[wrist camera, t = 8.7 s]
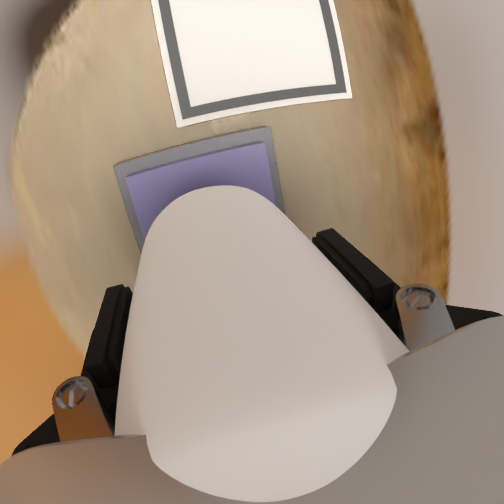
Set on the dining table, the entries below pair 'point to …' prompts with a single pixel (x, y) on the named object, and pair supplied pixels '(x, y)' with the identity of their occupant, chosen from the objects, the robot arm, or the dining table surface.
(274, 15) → the marked card
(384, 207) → the dining table surface
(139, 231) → the ink pad
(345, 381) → the can
